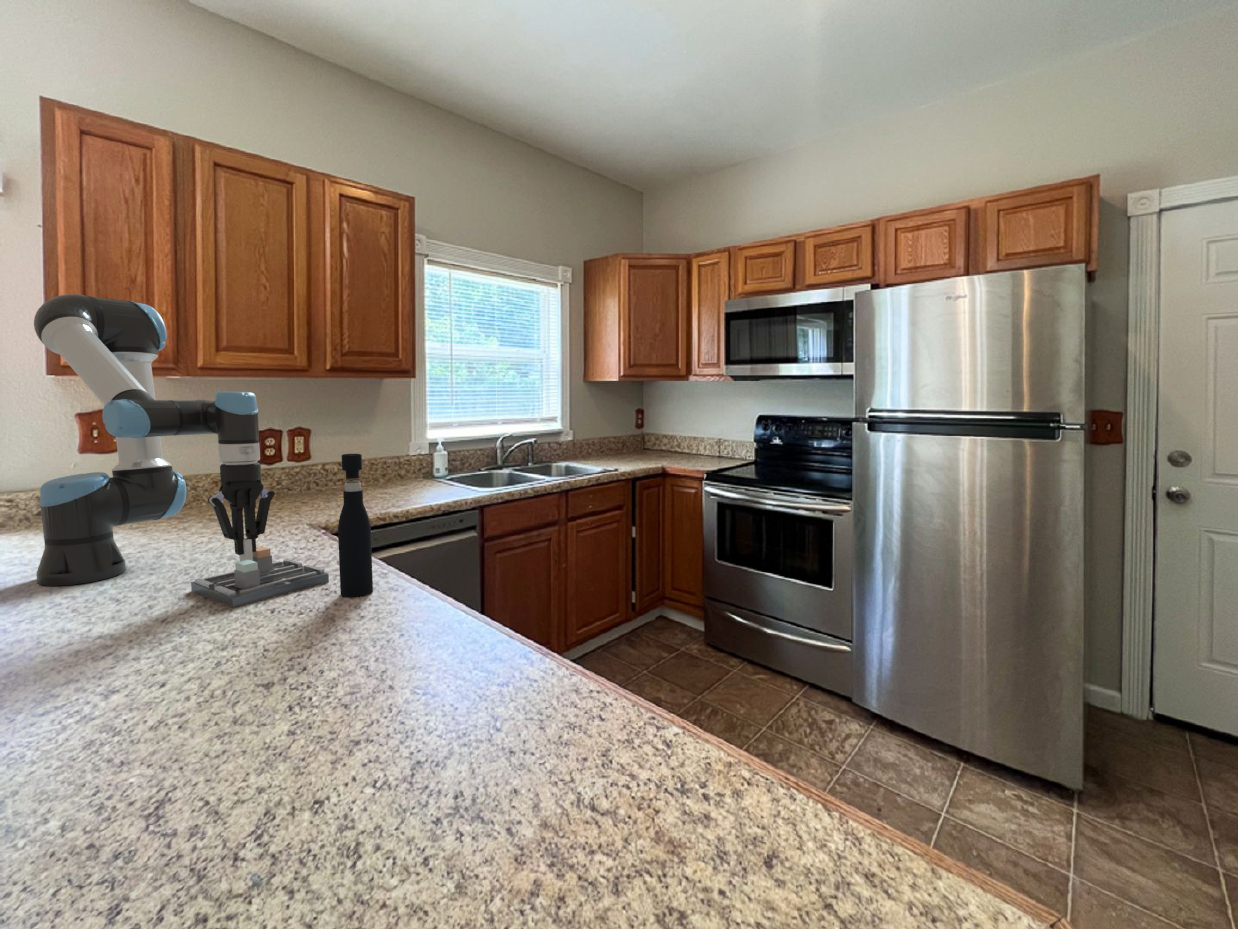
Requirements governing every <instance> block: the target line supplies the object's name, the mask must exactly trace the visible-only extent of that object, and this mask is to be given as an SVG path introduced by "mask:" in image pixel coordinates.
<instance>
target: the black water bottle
mask: <svg viewBox="0 0 1238 929" xmlns="http://www.w3.org/2000/svg"><path fill="white" fill-rule="evenodd" d="M341 470H342V471H344V472H345V480H346V481H345V482H344V484H343V486H344V488H343V489H344V490H343V491H342V492H343V493H342V494H343V506H342V508H341V511H340V515H339V519H338V525H337V535H338V536H337V541H338V542H337V543H338V561H339V562H338V564H339V566H338V567H339V587H340V589H339V590H340V596H341V597H343V598H346V599H356V598H362V597H366V596H367V597H368V596H369V595H371V594H372V593H373V592H374V583H373V581H374V579H373V554H372V552H373V551H372V527H371V523H370V518H369V514H368V512H367V510H366V506H365V504H364V494H363V493H364V492H363V490H362V483H361V481H359V480H360V472H359V471H361V470H363V455H362V453H343V454H341Z"/></svg>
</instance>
